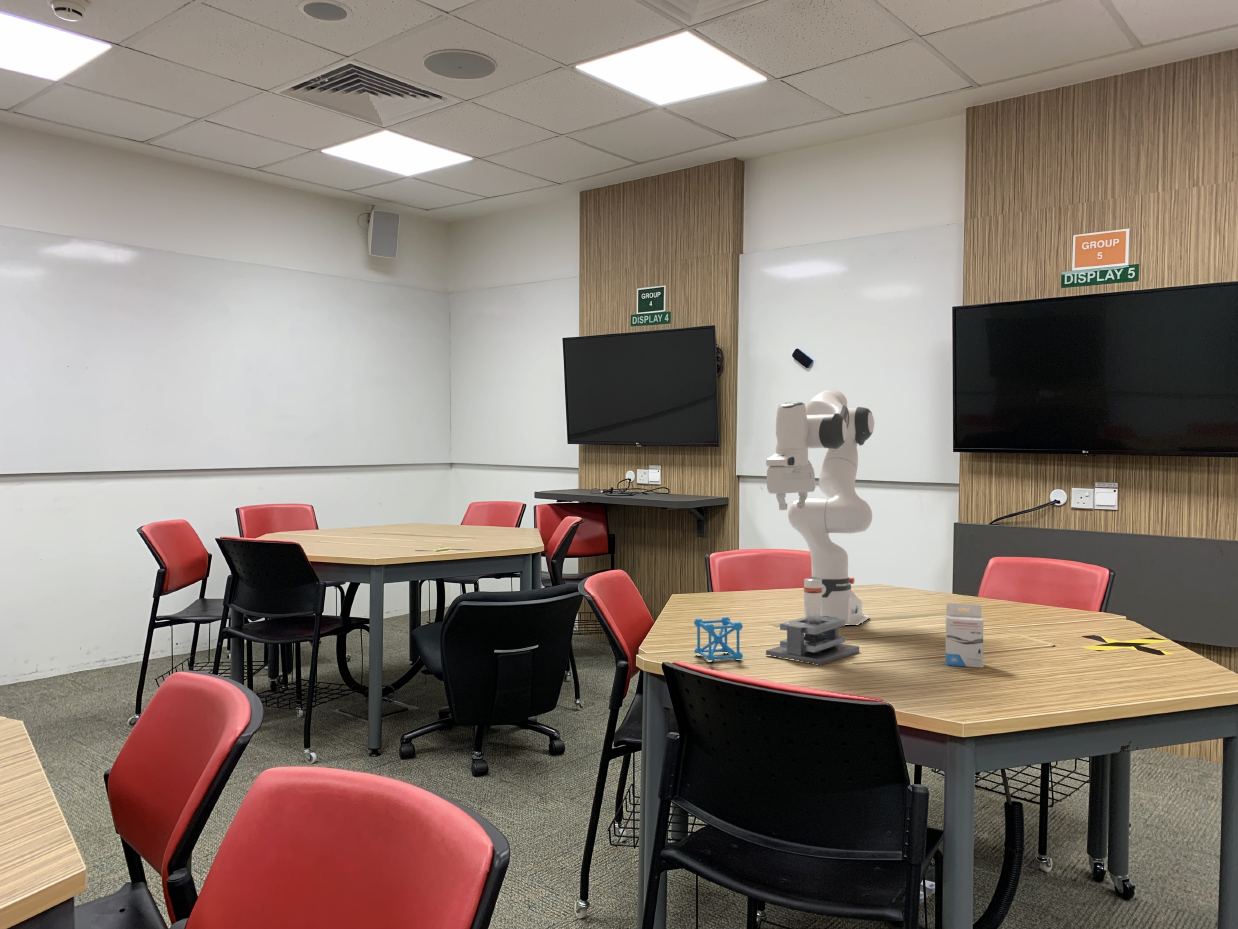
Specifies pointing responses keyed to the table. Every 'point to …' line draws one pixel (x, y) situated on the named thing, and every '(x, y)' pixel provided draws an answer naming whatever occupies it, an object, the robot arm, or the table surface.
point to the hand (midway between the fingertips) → (792, 509)
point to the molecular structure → (718, 638)
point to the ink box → (964, 635)
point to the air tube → (813, 606)
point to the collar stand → (810, 650)
